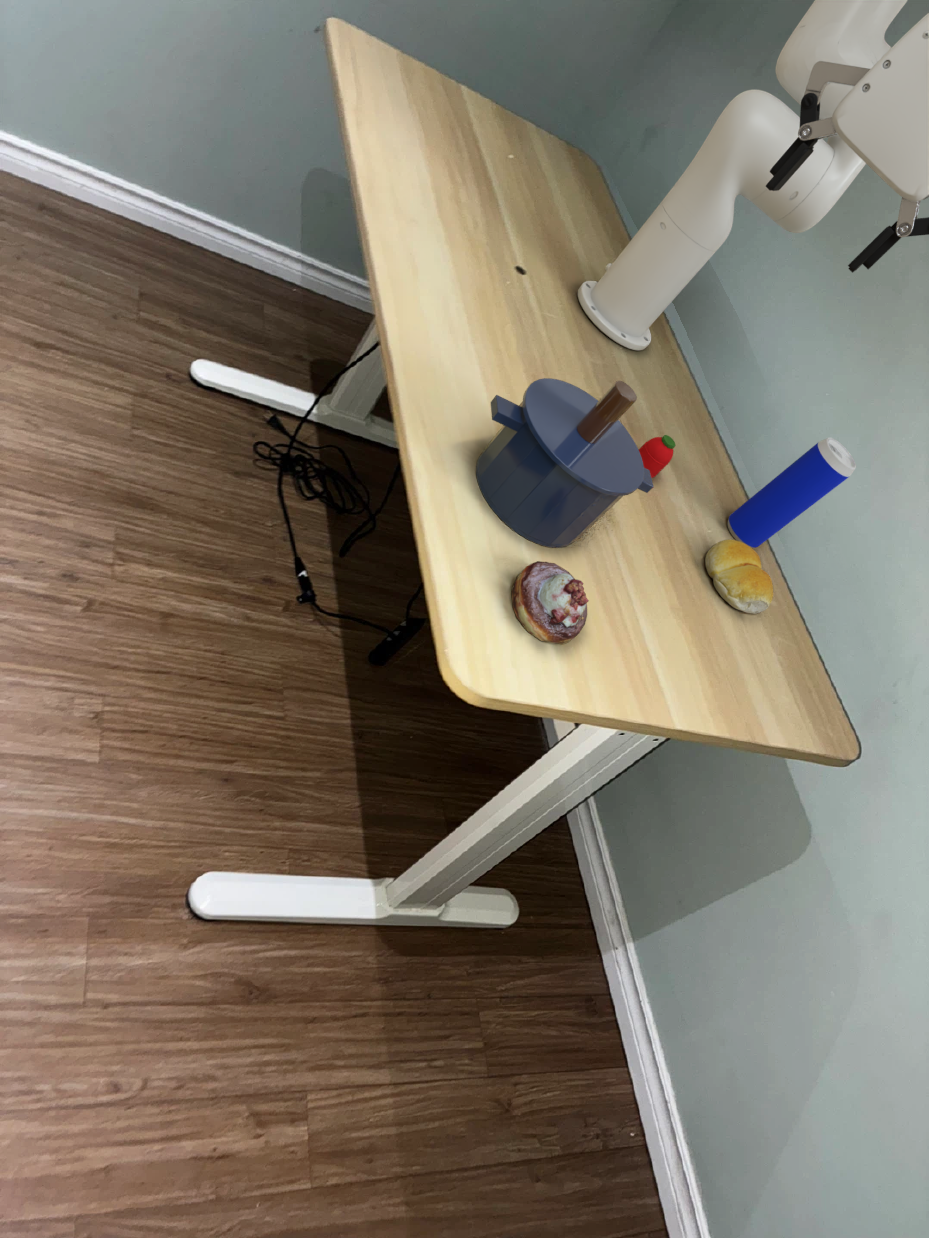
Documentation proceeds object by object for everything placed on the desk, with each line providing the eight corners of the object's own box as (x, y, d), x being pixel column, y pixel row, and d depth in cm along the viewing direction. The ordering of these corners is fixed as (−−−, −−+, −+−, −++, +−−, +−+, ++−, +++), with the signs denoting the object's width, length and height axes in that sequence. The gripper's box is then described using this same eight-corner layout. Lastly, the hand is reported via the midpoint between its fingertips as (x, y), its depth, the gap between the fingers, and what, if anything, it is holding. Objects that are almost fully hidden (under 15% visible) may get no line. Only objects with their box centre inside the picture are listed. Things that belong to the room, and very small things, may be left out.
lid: (513, 365, 76) (555, 310, 72) (624, 422, 82) (669, 375, 77) (524, 465, 68) (573, 409, 63) (647, 520, 74) (699, 473, 69)
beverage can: (755, 532, 103) (855, 453, 93) (756, 557, 99) (860, 479, 89) (724, 510, 102) (823, 428, 92) (724, 534, 98) (827, 452, 88)
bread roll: (737, 556, 97) (763, 536, 94) (766, 619, 92) (794, 600, 90) (690, 543, 92) (716, 522, 90) (719, 609, 88) (747, 588, 85)
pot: (449, 418, 80) (497, 353, 74) (592, 484, 88) (645, 430, 82) (453, 510, 72) (506, 446, 67) (609, 573, 80) (669, 521, 75)
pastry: (540, 656, 68) (577, 624, 65) (491, 583, 70) (524, 549, 66) (592, 631, 74) (629, 601, 70) (546, 565, 75) (579, 533, 72)
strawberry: (629, 450, 97) (655, 424, 94) (652, 461, 98) (678, 436, 95) (634, 471, 95) (660, 445, 92) (657, 482, 96) (684, 457, 93)
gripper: (1089, 110, 60) (888, 295, 71) (922, -50, 61) (750, 158, 72) (1098, 104, 55) (878, 306, 66) (914, -72, 55) (728, 157, 67)
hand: (811, 228), depth 69 cm, fingers open, 9 cm apart
